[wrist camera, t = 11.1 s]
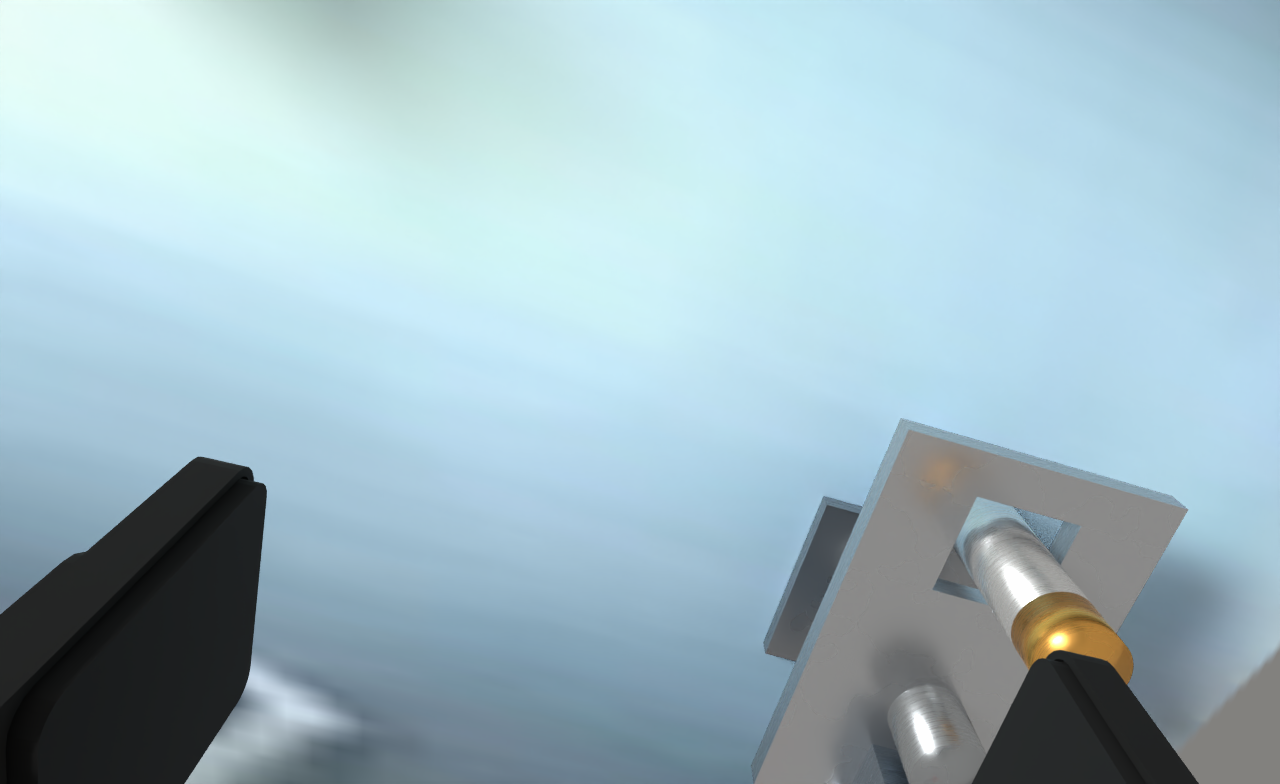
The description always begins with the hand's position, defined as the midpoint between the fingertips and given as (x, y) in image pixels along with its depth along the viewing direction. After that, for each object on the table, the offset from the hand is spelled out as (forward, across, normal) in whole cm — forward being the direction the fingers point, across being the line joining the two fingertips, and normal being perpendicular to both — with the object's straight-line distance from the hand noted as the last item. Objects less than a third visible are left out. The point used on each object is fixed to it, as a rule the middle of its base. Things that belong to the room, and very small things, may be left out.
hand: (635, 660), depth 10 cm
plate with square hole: (+26, -14, +14) cm, 32 cm away
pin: (+26, -14, +6) cm, 30 cm away
